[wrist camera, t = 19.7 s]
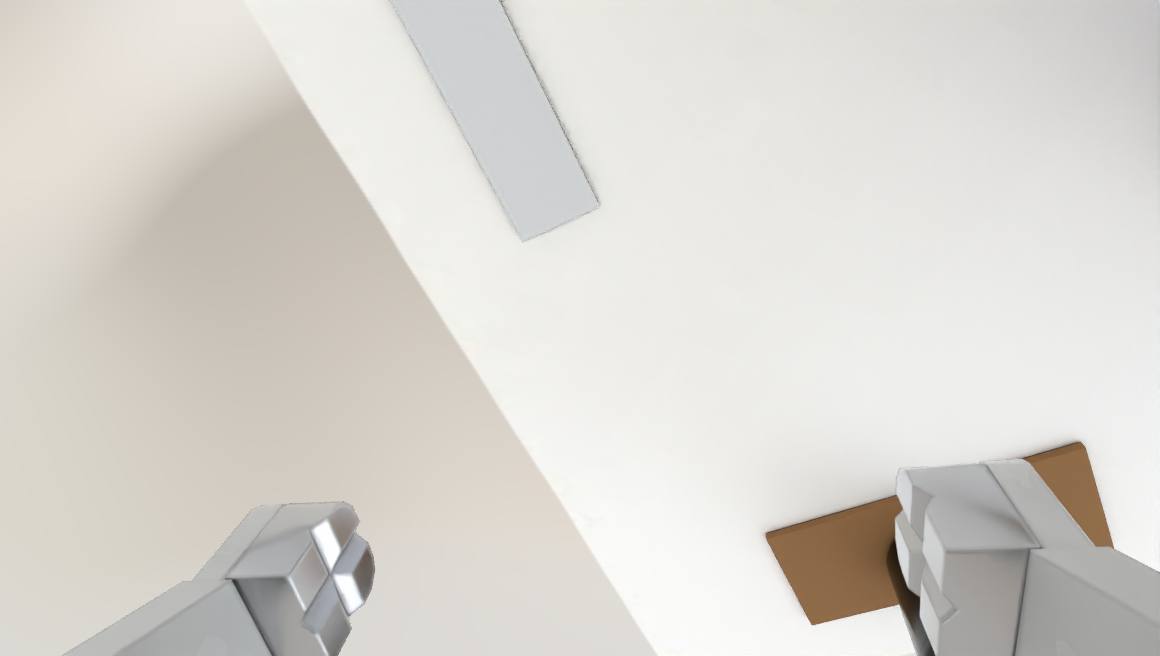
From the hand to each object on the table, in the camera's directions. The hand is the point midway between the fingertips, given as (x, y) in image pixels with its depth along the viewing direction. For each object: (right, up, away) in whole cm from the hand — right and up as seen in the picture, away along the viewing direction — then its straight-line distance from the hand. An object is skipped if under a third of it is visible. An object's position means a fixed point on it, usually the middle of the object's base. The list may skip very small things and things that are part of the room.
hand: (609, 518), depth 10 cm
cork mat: (+23, -11, +35) cm, 44 cm away
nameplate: (-6, +18, +25) cm, 31 cm away
